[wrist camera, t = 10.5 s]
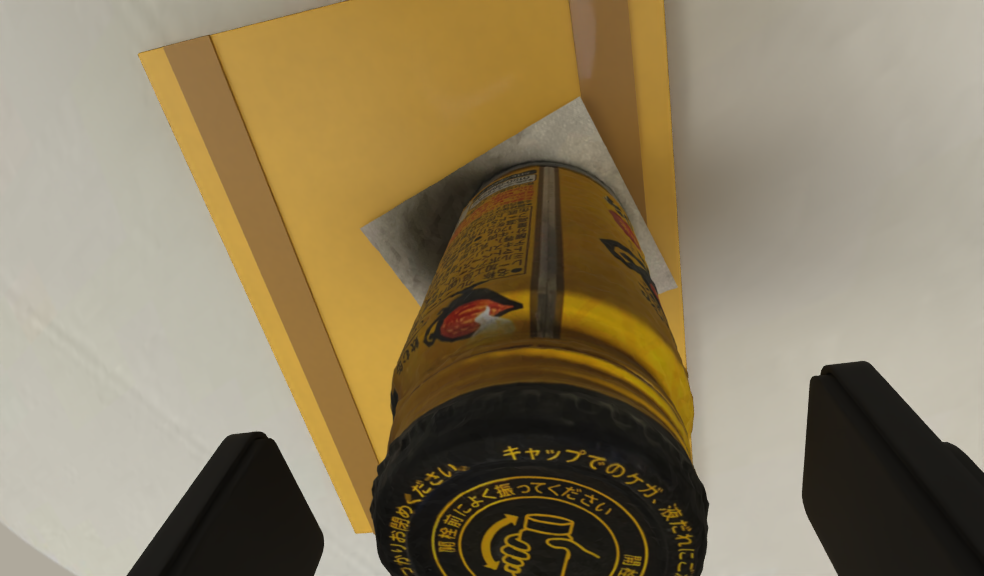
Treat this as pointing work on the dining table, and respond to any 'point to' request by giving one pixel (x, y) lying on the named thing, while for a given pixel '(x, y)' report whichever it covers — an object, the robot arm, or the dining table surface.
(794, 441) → the dining table surface
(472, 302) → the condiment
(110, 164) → the dining table surface
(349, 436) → the towel
